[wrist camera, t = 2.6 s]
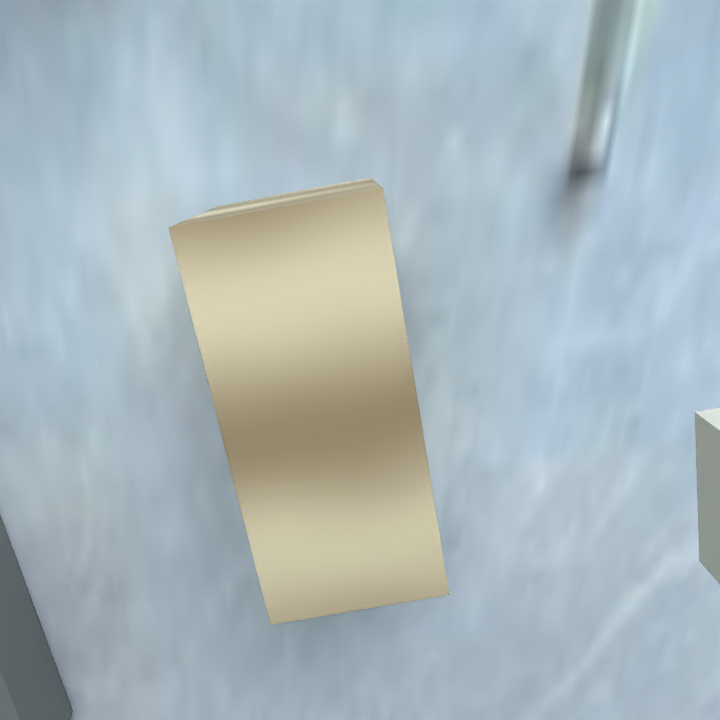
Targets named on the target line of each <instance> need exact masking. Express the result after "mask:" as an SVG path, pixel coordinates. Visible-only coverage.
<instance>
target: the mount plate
mask: <svg viewBox="0 0 720 720" xmlns="http://www.w3.org/2000/svg"><path fill="white" fill-rule="evenodd" d="M72 712H73V711H72V708H71V705H70V703H69V700H68V697H67V694H66V692H65V689H64V686H63V684H62V681H61V678H60V676H59V673H58V670H57V668H56V665H55V662H54V660H53V657H52V654H51V651H50V649H49V646H48V643H47V641H46V638H45V635H44V633H43V630H42V627H41V625H40V622H39V619H38V616H37V614H36V611H35V608H34V606H33V603H32V600H31V598H30V595H29V592H28V590H27V587H26V584H25V581H24V579H23V576H22V573H21V571H20V568H19V565H18V563H17V560H16V557H15V555H14V552H13V549H12V547H11V544H10V541H9V538H8V536H7V533H6V530H5V528H4V525H3V522H2V520H1V517H0V720H69V718H70V716H71V714H72Z"/></svg>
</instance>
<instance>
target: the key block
mask: <svg viewBox="0 0 720 720" xmlns="http://www.w3.org/2000/svg"><path fill="white" fill-rule="evenodd" d="M169 231H170V235H171V239H172V243H173V247H174V251H175V255H176V259H177V263H178V266H179V270H180V274H181V278H182V282H183V286H184V290H185V294H186V298H187V302H188V305H189V309H190V313H191V317H192V321H193V325H194V329H195V333H196V337H197V340H198V344H199V348H200V352H201V356H202V360H203V364H204V368H205V372H206V376H207V379H208V383H209V387H210V391H211V395H212V399H213V403H214V407H215V411H216V415H217V418H218V422H219V426H220V430H221V434H222V438H223V442H224V446H225V450H226V454H227V457H228V461H229V465H230V469H231V473H232V477H233V481H234V485H235V489H236V493H237V496H238V500H239V504H240V508H241V512H242V516H243V520H244V524H245V528H246V532H247V535H248V539H249V543H250V547H251V551H252V555H253V559H254V563H255V567H256V571H257V574H258V578H259V582H260V586H261V590H262V594H263V598H264V602H265V606H266V610H267V613H268V617H269V621H270V625H274V624H280V623H285V622H291V621H297V620H303V619H309V618H315V617H321V616H327V615H333V614H339V613H344V612H350V611H356V610H362V609H368V608H374V607H380V606H386V605H392V604H398V603H403V602H409V601H415V600H421V599H427V598H433V597H439V596H445V595H449V589H448V583H447V577H446V571H445V565H444V559H443V553H442V547H441V540H440V534H439V528H438V522H437V516H436V510H435V504H434V498H433V492H432V486H431V480H430V473H429V467H428V461H427V455H426V449H425V443H424V437H423V431H422V425H421V419H420V412H419V406H418V400H417V394H416V388H415V382H414V376H413V370H412V364H411V358H410V351H409V345H408V339H407V333H406V327H405V321H404V315H403V309H402V303H401V297H400V291H399V284H398V278H397V272H396V266H395V260H394V254H393V248H392V242H391V236H390V230H389V223H388V217H387V211H386V205H385V199H384V193H383V188H382V187H381V186H380V185H378V184H377V183H376V182H375V181H374V180H372V179H371V178H367V179H361V180H356V181H350V182H345V183H340V184H334V185H329V186H324V187H318V188H313V189H307V190H302V191H297V192H291V193H286V194H280V195H275V196H270V197H264V198H259V199H253V200H248V201H243V202H237V203H232V204H226V205H221V206H218V207H215V208H213V209H211V210H208V211H206V212H204V213H201V214H199V215H197V216H194V217H192V218H190V219H187V220H185V221H183V222H180V223H178V224H176V225H173V226H171V227H169Z"/></svg>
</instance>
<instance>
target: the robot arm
mask: <svg viewBox="0 0 720 720" xmlns="http://www.w3.org/2000/svg"><path fill="white" fill-rule="evenodd" d="M695 434H696V466H697V497H698V529H699V561H700V562H701V563H702V564H703V565H704V567H705V568H706V569H707V570H708V571H709V572H710V574H711V575H712V576H713V577H714V578H715V579H716V580H717V582H718V583H719V584H720V407H719V408H714V409H708V410H702V411H697V412H695Z"/></svg>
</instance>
